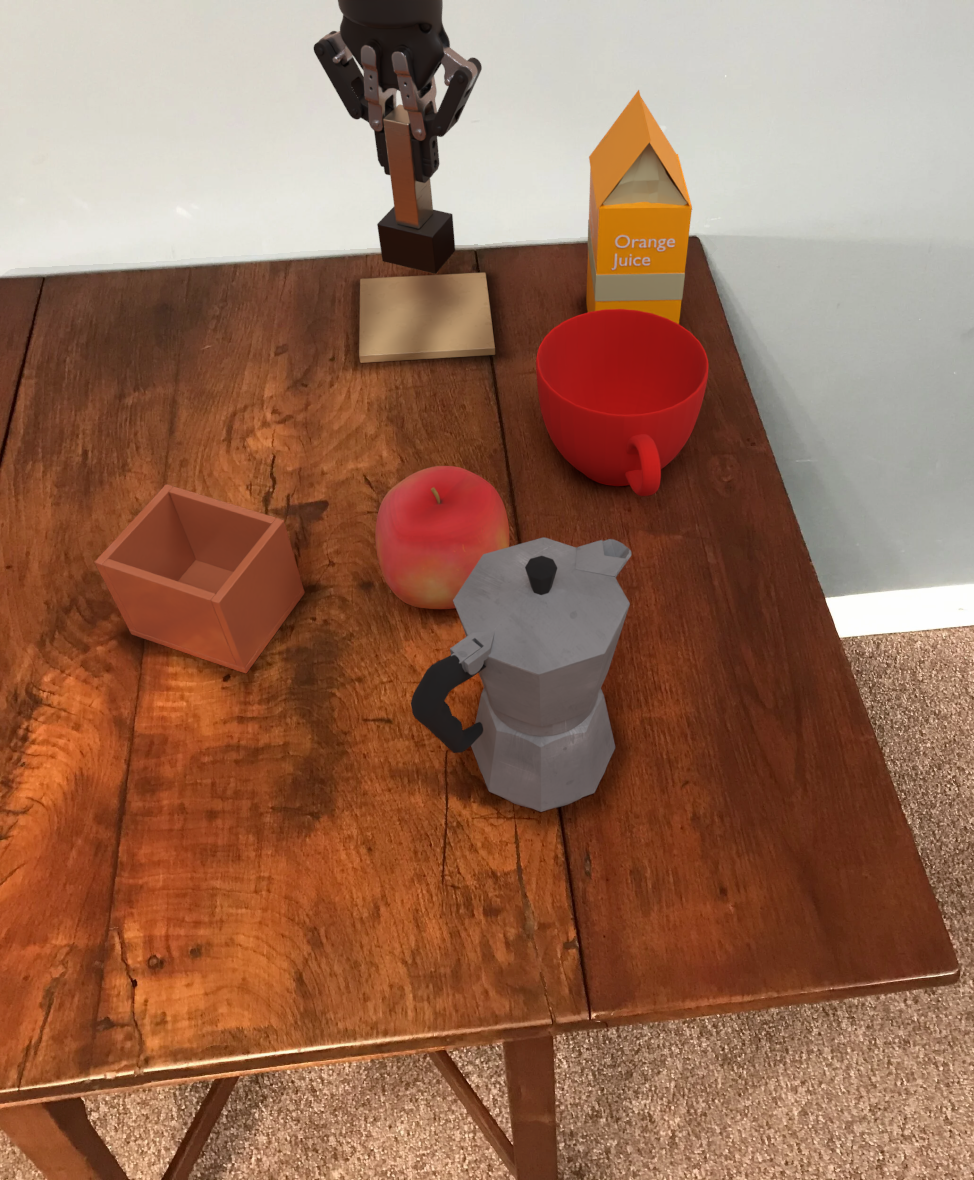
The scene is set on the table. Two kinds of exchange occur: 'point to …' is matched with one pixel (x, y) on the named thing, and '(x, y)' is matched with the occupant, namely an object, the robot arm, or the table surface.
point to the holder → (203, 577)
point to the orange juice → (637, 218)
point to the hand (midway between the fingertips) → (409, 173)
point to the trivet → (425, 317)
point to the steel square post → (411, 207)
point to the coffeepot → (534, 669)
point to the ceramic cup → (621, 394)
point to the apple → (437, 533)
